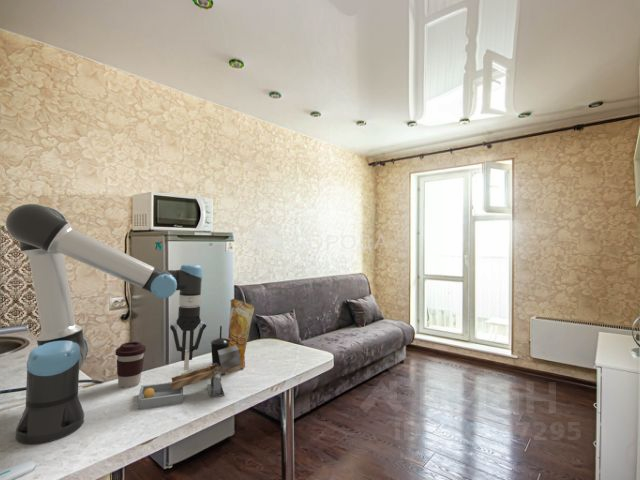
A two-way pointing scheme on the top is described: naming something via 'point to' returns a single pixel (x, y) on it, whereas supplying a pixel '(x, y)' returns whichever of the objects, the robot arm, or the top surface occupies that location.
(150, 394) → the ball
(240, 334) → the pancake mix bag
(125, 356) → the coffee cup
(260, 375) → the top surface
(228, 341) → the drinking cup
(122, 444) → the top surface
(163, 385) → the dish
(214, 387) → the stand
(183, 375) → the lever
